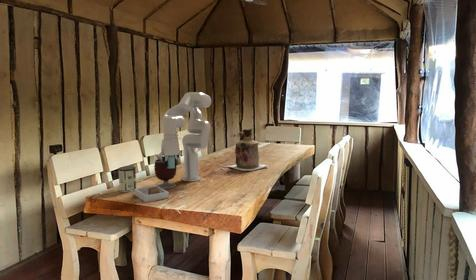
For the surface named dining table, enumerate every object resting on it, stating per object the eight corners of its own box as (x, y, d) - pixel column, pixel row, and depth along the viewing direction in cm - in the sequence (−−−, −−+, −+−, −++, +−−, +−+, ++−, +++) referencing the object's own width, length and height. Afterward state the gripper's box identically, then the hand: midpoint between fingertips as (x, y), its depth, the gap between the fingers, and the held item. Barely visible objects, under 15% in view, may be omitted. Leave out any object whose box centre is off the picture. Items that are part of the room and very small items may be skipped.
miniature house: (128, 186, 237) (127, 165, 235) (140, 189, 232) (139, 167, 230) (115, 190, 228) (114, 168, 226) (127, 192, 223) (126, 170, 221)
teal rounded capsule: (165, 167, 226) (165, 156, 226) (172, 166, 229) (172, 155, 228) (168, 168, 222) (168, 157, 221) (176, 167, 225) (176, 156, 224)
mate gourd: (181, 185, 241) (180, 155, 238) (165, 190, 229) (165, 158, 227) (164, 182, 249) (163, 152, 247) (148, 186, 238) (147, 156, 235)
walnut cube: (148, 196, 213) (148, 188, 212) (156, 195, 216) (156, 186, 215) (151, 198, 209) (151, 190, 208) (159, 197, 212) (159, 188, 211)
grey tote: (134, 194, 219) (134, 188, 219) (157, 191, 227) (156, 185, 227) (145, 202, 204) (144, 196, 204) (168, 198, 212) (168, 192, 212)
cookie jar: (248, 163, 313) (248, 126, 309) (269, 168, 294) (269, 128, 290) (225, 167, 297) (225, 127, 293) (245, 172, 278) (245, 130, 274)
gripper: (180, 135, 231) (180, 163, 234) (154, 137, 222) (155, 167, 224) (185, 136, 225) (185, 165, 227) (159, 138, 216) (159, 169, 218)
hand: (170, 166), depth 226 cm, fingers closed on teal rounded capsule, 5 cm apart
